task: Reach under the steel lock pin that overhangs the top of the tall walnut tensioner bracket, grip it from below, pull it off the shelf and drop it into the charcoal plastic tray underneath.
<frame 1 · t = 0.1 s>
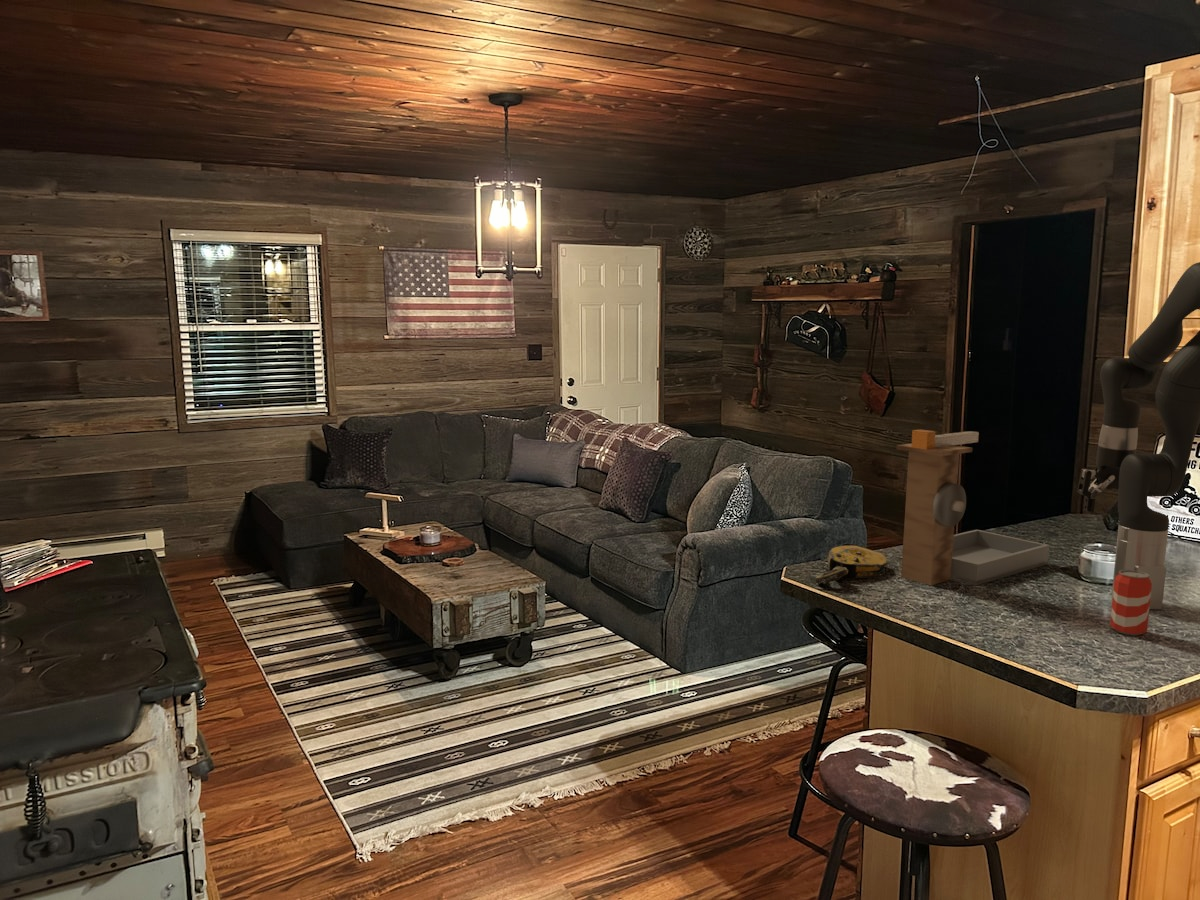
hand: (1107, 513, 204), 17 cm above the countertop, tool pointing down, fingers open, 8 cm apart
tensioner bracket: (925, 578, 211), on the countertop
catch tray: (975, 564, 223), on the countertop
beverage can: (1127, 632, 176), on the countertop
lock pin: (947, 444, 209), point 32 cm above the countertop, touching tensioner bracket
pulley block: (847, 576, 214), on the countertop
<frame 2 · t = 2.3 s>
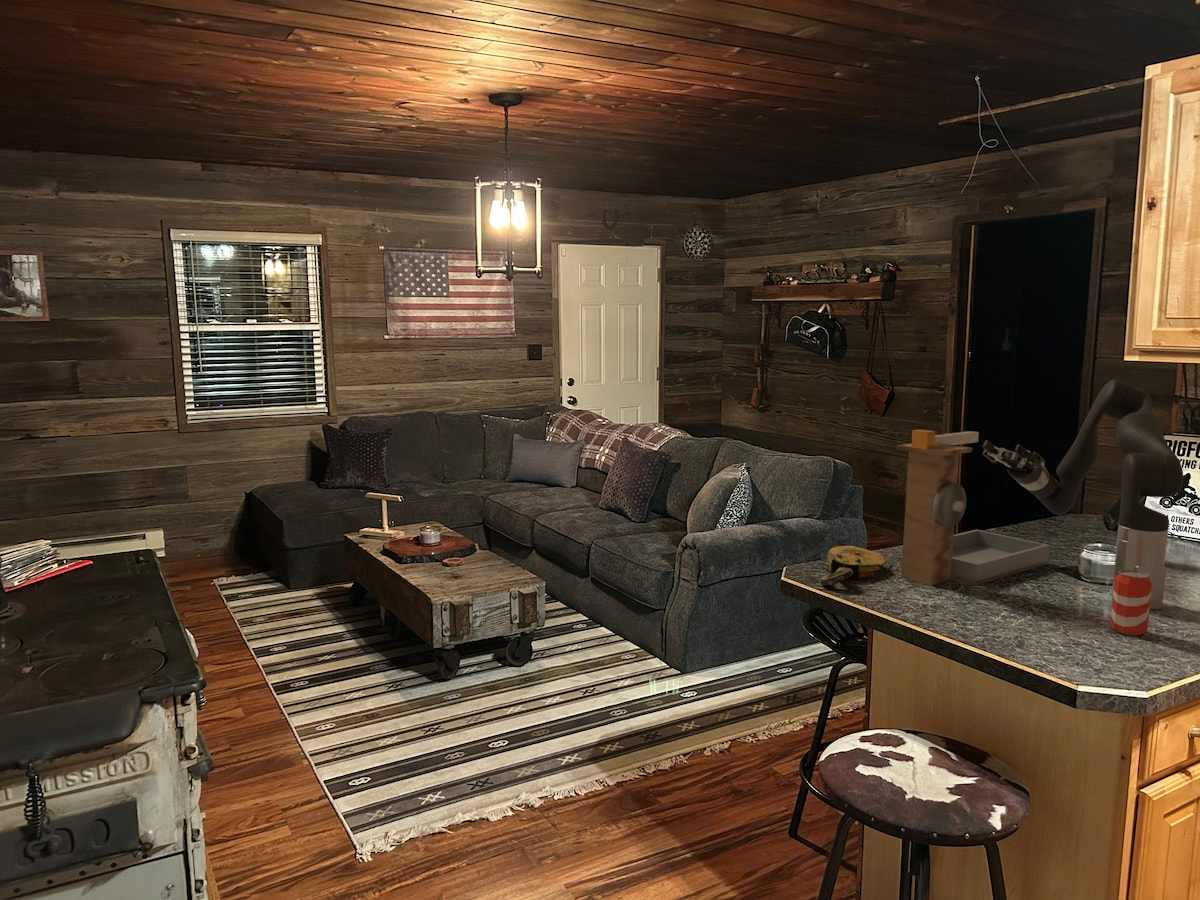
hand: (1001, 445, 223), 30 cm above the countertop, tool pointing upward, fingers open, 8 cm apart
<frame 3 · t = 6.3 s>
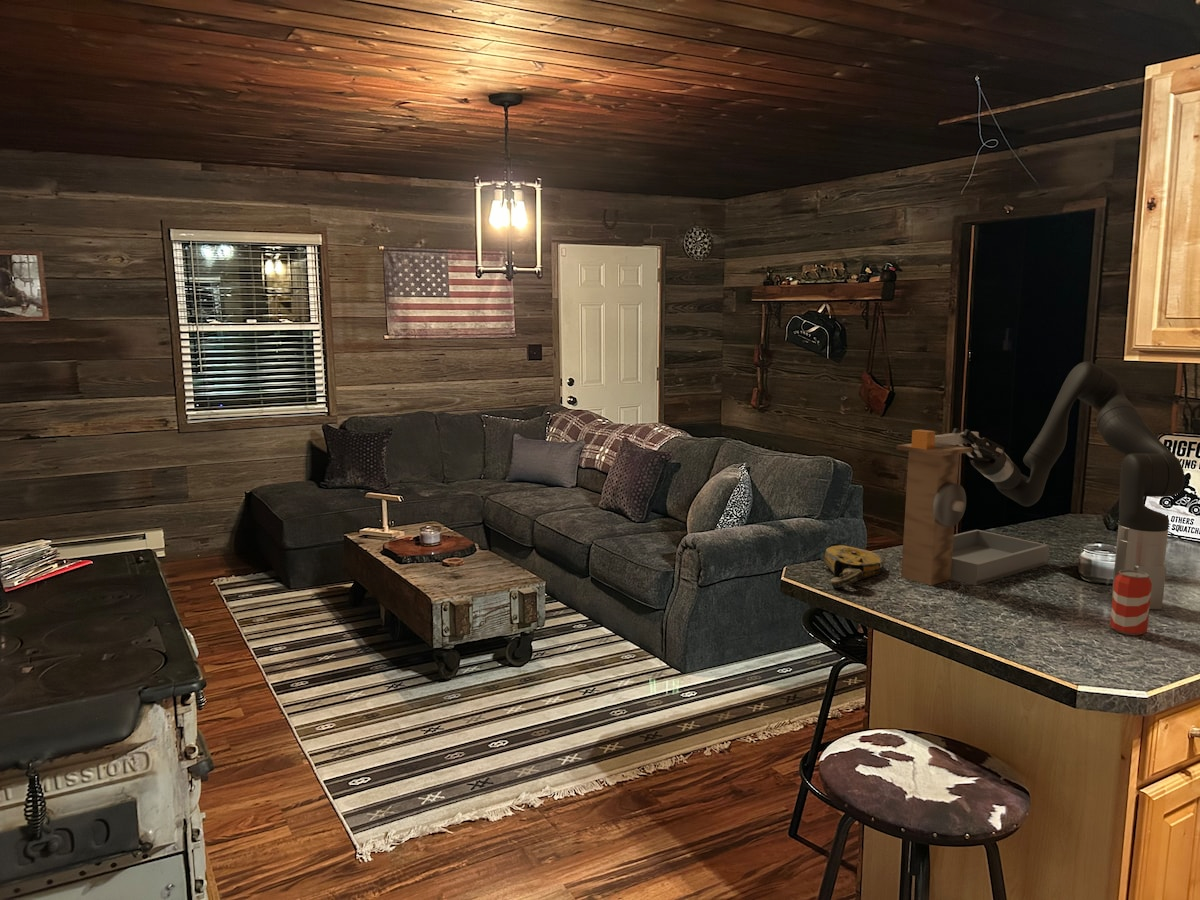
hand: (959, 432, 212), 35 cm above the countertop, tool pointing upward, fingers closed on lock pin, 2 cm apart
lock pin: (946, 444, 209), point 32 cm above the countertop, touching gripper, tensioner bracket
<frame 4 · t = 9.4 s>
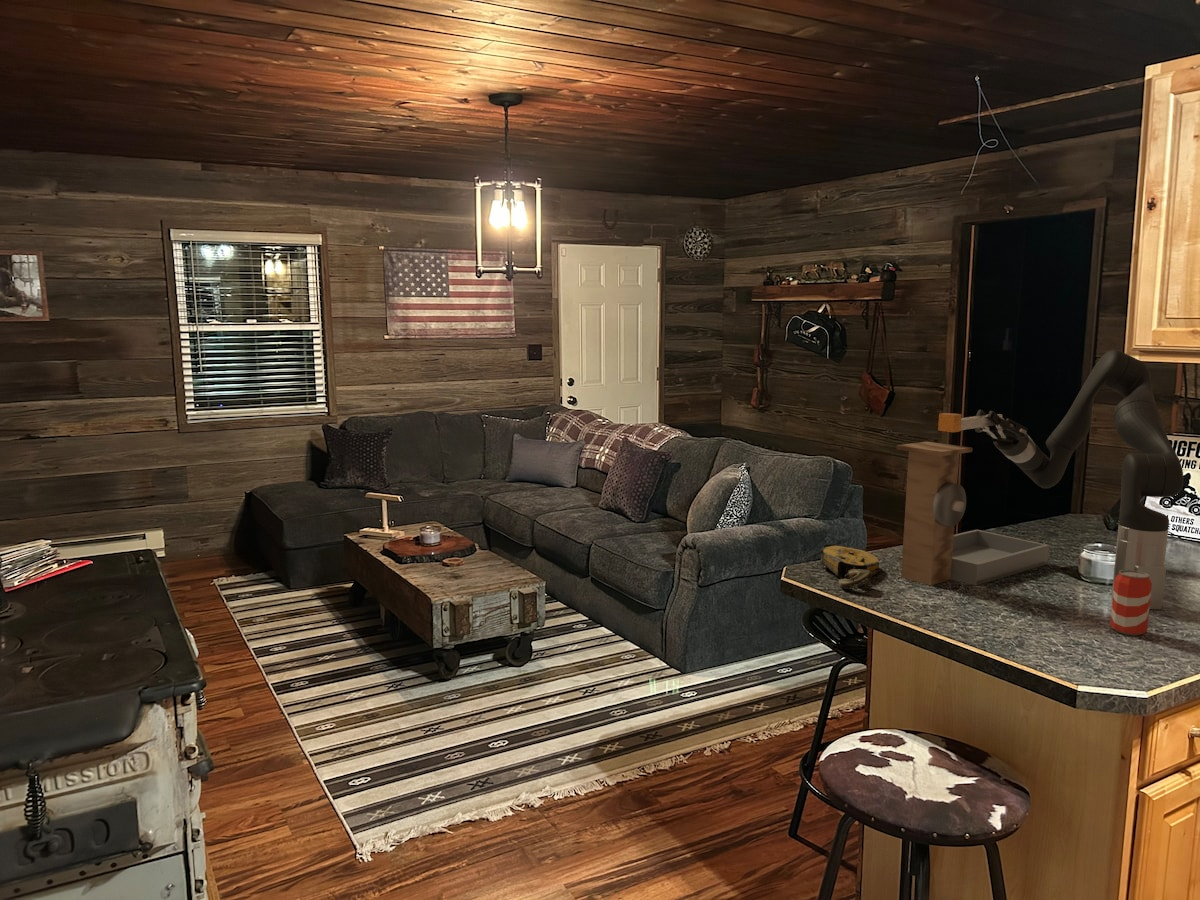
hand: (984, 413, 217), 39 cm above the countertop, tool pointing upward, fingers closed on lock pin, 2 cm apart
lock pin: (972, 427, 214), point 36 cm above the countertop, touching gripper
when the fingers open (26 cm above the countertop, at t = 12.7 s): lock pin drops 22 cm, resting on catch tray.
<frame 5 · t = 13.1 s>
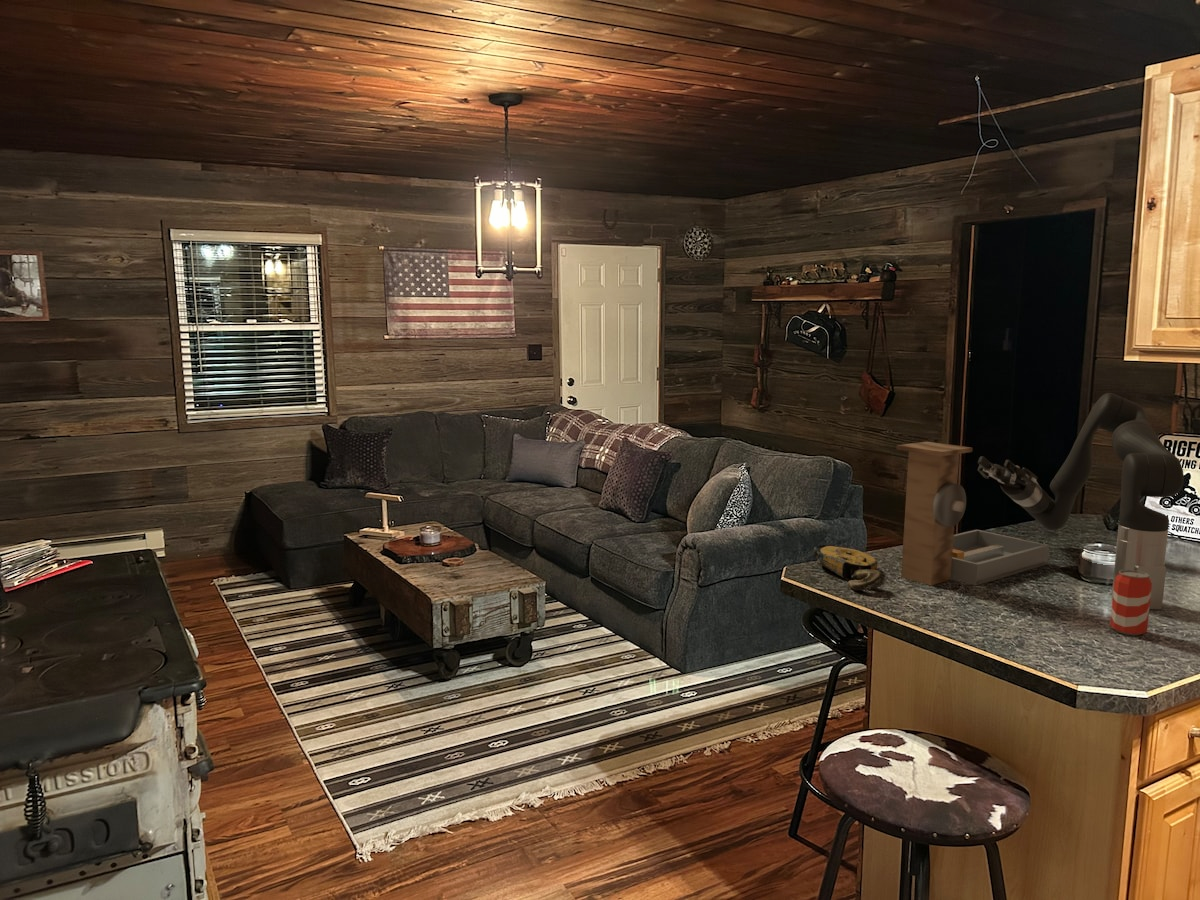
hand: (993, 461, 222), 26 cm above the countertop, tool pointing upward, fingers open, 6 cm apart
lock pin: (974, 560, 223), point 1 cm above the countertop, touching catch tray
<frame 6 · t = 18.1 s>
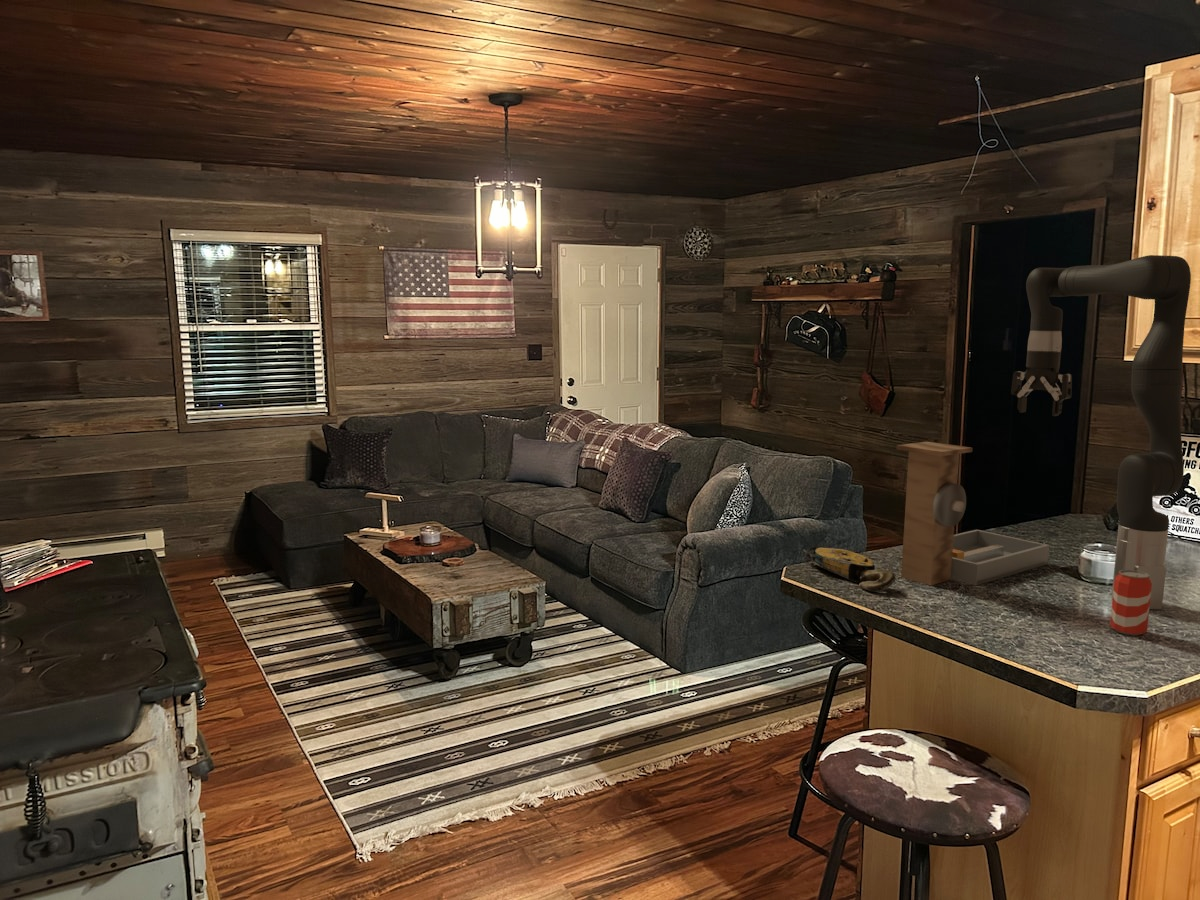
hand: (1038, 414, 222), 38 cm above the countertop, tool pointing down, fingers open, 8 cm apart
at the end: lock pin inside the target area on the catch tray (0.4 cm from its centre), point 1.0 cm above the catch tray's base; the gripper is holding nothing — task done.
